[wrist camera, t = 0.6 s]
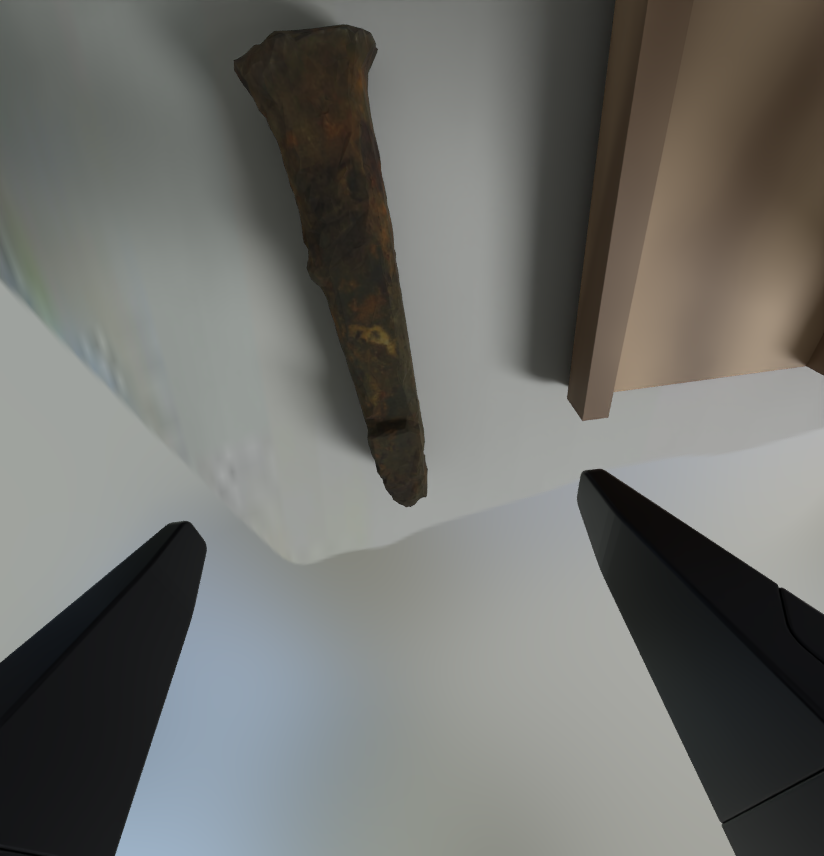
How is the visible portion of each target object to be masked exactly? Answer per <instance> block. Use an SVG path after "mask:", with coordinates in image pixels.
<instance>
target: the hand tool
mask: <svg viewBox="0 0 824 856" xmlns="http://www.w3.org/2000/svg"><path fill="white" fill-rule="evenodd" d="M377 50H378V49H377V48H376V43H375V41H374V39H373V36H372V34H371V33H370V32H368V31H366V30H364V29H361V28H357V27H354V26H350V25H344V24H343V25H336V26H328V27H321V28H313V29H303V30H291V31H274V32H273V33H272V34H270V35H269V36H268V37H267V38H266V39H265V40H264V42H262V43H261V44H259V45H254V46H253V47H252V48H251V49H250V50H249V51H248V52H247V53H246V54H245V55H243V56H242V57H240V58H239V59H236V60H234V70H235V72H236V74H237V75H238V77H239V79H240V81H241V82H242V83H243V85H244V86H245V88H246V89H247V90H248V92H249V93H250V95H251V96H252V97H253V98H254V100H255V102H256V105H257V107H258V109H259V111H260V112H261V113H262V114H263V115H264V116H265V117H266V118H267V121H268V124H269V127H270V129H271V131H272V132H273V134H274V136H275V138H276V139H277V142H278V145H279V148H280V151H281V154H282V158H283V162H284V166H285V169H286V171H287V174H288V178H289V182H290V186H291V188H292V191H293V193H294V196H295V199H296V203H297V206H298V209H299V213H300V218H301V224H302V233H303V240H304V243H305V245H306V247H307V248H308V254H309V259H308V264H307V270H308V272H309V275H310V277H311V279H312V280H313V281H314V282H315V283H316V284H317V285H319V286H320V287H321V288H322V290H323V292H324V294H325V296H326V297H327V300H328V304H329V307H330V311H331V314H332V317H333V320H334V323H335V327H336V330H337V334H338V337H339V341H340V344H341V347H342V349H343V352H344V354H345V357H346V360H347V364H348V367H349V370H350V373H351V376H352V379H353V382H354V385H355V388H356V391H357V395H358V398H359V401H360V404H361V408H362V411H363V415H364V419H365V421H366V424H367V427H368V443H369V446H370V449H371V453H372V456H373V458H374V459H375V463H376V468H377V472H378V474H379V475H380V477H381V478H382V479H383V483H384V486H385V488H386V490H387V491H388V492H389V494H390V495H392V498H393V500H394V501H396V502H398V503H399V504H401V505H403V506H405V507H409V506H410V507H411V506H413V505H415V504H416V502H417V501H418V500H419V499H420V498H422V497H426V496H427V471H428V469H427V466H426V462H425V455H424V452H423V451H424V443H425V439H424V428H423V424H422V418H421V412H420V406H419V400H418V396H417V390H416V383H415V377H414V370H413V363H412V357H411V351H410V344H409V338H408V332H407V325H406V319H405V312H404V307H403V301H402V293H401V288H400V283H399V274H398V268H397V263H396V252H395V250H394V239H393V228H392V223H391V218H390V213H389V209H388V206H387V197H386V192H385V187H384V182H383V178H382V173H381V161H380V154H379V150H378V146H377V142H376V138H375V134H374V129H373V124H372V118H371V112H370V105H369V98H368V72H369V70H370V68H371V65H372V63H373V61H374V58H375V56H376V54H377Z"/></svg>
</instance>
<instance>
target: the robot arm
mask: <svg viewBox="0 0 824 856" xmlns="http://www.w3.org/2000/svg"><path fill="white" fill-rule="evenodd" d="M577 502H578V506H579V510H580V513H581V515H582V518H583V521H584V524H585V527H586V530H587V533H588V536H589V539H590V542H591V545H592V548H593V550H594V553H595V556H596V559H597V562H598V565H599V567H600V570H601V572H602V574H603V577H604V579H605V581H606V583H607V585H608V587H609V589H610V592H611V594H612V596H613V598H614V600H615V602H616V604H617V606H618V608H619V611H620V613H621V615H622V617H623V619H624V621H625V623H626V625H627V627H628V629H629V631H630V634H631V636H632V638H633V640H634V642H635V644H636V646H637V648H638V650H639V652H640V655H641V657H642V659H643V661H644V663H645V665H646V667H647V669H648V671H649V674H650V676H651V678H652V680H653V682H654V684H655V686H656V688H657V690H658V692H659V695H660V696H661V699H662V701H663V703H664V705H665V707H666V709H667V711H668V714H669V715H670V717H671V719H672V722H673V724H674V726H675V728H676V730H677V732H678V734H679V737H680V739H681V741H682V743H683V745H684V747H685V749H686V751H687V753H688V756H689V758H690V760H691V762H692V764H693V766H694V768H695V770H696V772H697V774H698V777H699V779H700V780H701V783H702V785H703V787H704V789H705V791H706V793H707V795H708V797H709V800H710V801H711V804H712V806H713V808H714V810H715V812H716V814H717V816H718V818H719V820H720V822H721V823H722V828H723V829H724V832H725V834H726V836H727V838H728V840H729V842H730V844H731V846H732V848H733V851H734V853H735V855H736V856H824V614H823V613H821V612H820V611H818V610H816V609H815V608H813V607H812V606H810V605H809V604H807V603H805V602H804V601H802V600H801V599H799V598H798V597H796V596H795V595H793V594H792V593H790V592H789V591H787V590H786V589H784V588H779V587H778V585H777V584H776V583H775V582H773V581H772V580H770V579H769V578H767V577H766V576H764V575H763V574H761V573H760V572H758V571H757V570H755V569H754V568H752V567H750V566H749V565H748V564H746V563H745V562H743V561H742V560H740V559H739V558H737V557H735V556H734V555H732V554H731V553H729V552H728V551H726V550H725V549H723V548H722V547H720V546H719V545H717V544H716V543H714V542H712V541H711V540H710V539H708V538H707V537H705V536H704V535H702V534H700V533H699V532H698V531H696V530H694V529H693V528H691V527H690V526H688V525H687V524H685V523H684V522H682V521H681V520H679V519H678V518H676V517H675V516H673V515H672V514H670V513H669V512H667V511H666V510H664V509H662V508H661V507H660V506H658V505H657V504H655V503H654V502H652V501H651V500H649V499H648V498H646V497H644V496H643V495H641V494H640V493H638V492H637V491H635V490H634V489H632V488H631V487H629V486H628V485H626V484H625V483H623V482H622V481H620V480H619V479H617V478H616V477H614V476H613V475H611V474H610V473H608V472H607V471H605V470H603V469H593V470H585V471H583V472H582V473H581V476H580V482H579V488H578V494H577ZM206 551H207V547H206V543H205V541H204V539H203V538H202V537H201V535H200V534H199V533H198V531H197V530H196V529H195V527H194V526H193V525H192V524H191V523H190V522H188V521H181V522H173V523H169V524H168V525H167V526H165V527H164V528H162V529H161V530H160V531H159V532H158V533H156V534H155V535H154V536H153V537H152V538H150V539H149V540H148V541H147V542H146V543H144V544H143V545H142V546H141V547H140V548H138V549H137V550H136V551H135V552H134V553H132V554H131V555H130V556H129V557H127V558H126V559H125V560H124V561H123V562H121V563H120V564H119V565H118V566H117V567H115V568H114V569H113V570H112V571H111V572H109V573H108V574H107V575H106V576H105V577H103V578H102V579H101V580H100V581H99V582H98V583H96V584H95V585H94V586H92V587H91V588H90V589H89V590H88V591H86V592H85V593H84V594H83V595H82V596H80V597H79V598H78V599H77V600H76V601H74V602H73V603H72V604H71V605H70V606H68V607H67V608H66V609H65V610H64V611H62V612H61V613H60V614H59V615H57V616H56V617H55V618H54V619H53V620H51V621H50V622H49V623H48V624H46V625H45V626H44V627H43V628H42V629H41V630H39V631H38V632H37V633H36V634H35V635H33V636H32V637H31V638H30V639H28V640H27V641H26V642H25V643H24V644H22V645H21V646H20V647H19V648H17V649H16V650H15V651H14V652H13V653H11V654H10V655H9V656H8V657H7V658H5V660H3V661H2V662H1V663H0V856H115V854H116V851H117V847H118V844H119V841H120V838H121V835H122V832H123V829H124V826H125V823H126V820H127V817H128V813H129V810H130V807H131V804H132V801H133V798H134V795H135V792H136V789H137V785H138V782H139V780H140V776H141V773H142V770H143V767H144V764H145V761H146V758H147V755H148V752H149V749H150V746H151V742H152V739H153V736H154V733H155V730H156V727H157V724H158V721H159V718H160V715H161V711H162V709H163V705H164V702H165V699H166V696H167V693H168V690H169V687H170V684H171V681H172V678H173V675H174V672H175V668H176V665H177V662H178V659H179V656H180V653H181V650H182V646H183V644H184V641H185V637H186V634H187V631H188V628H189V625H190V622H191V618H192V615H193V611H194V607H195V603H196V598H197V594H198V589H199V584H200V579H201V575H202V570H203V565H204V561H205V557H206Z"/></svg>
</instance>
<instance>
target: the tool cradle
mask: <svg viewBox="0 0 824 856" xmlns="http://www.w3.org/2000/svg"><path fill="white" fill-rule="evenodd" d="M803 366H807V367H809V368H811V369H813V370H815V371H816V372H818V373H820V374H822V375H824V0H616V1H615V9H614V17H613V25H612V33H611V42H610V50H609V58H608V66H607V74H606V83H605V91H604V99H603V107H602V116H601V124H600V132H599V140H598V148H597V157H596V165H595V173H594V181H593V189H592V198H591V206H590V214H589V222H588V231H587V239H586V247H585V255H584V263H583V272H582V280H581V288H580V296H579V304H578V313H577V321H576V329H575V337H574V346H573V354H572V362H571V370H570V378H569V387H568V395H567V399H568V401H569V402H570V403H571V405H572V406H573V408H574V409H575V411H576V412H577V414H578V415H579V417H580V418H581V420H582V421H585V420H593V419H601V418H608V416H609V411H610V406H611V402H612V397H613V392H618V391H626V390H633V389H641V388H648V387H655V386H663V385H670V384H678V383H685V382H692V381H700V380H707V379H714V378H722V377H729V376H737V375H744V374H751V373H759V372H766V371H773V370H781V369H788V368H796V367H803Z"/></svg>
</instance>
